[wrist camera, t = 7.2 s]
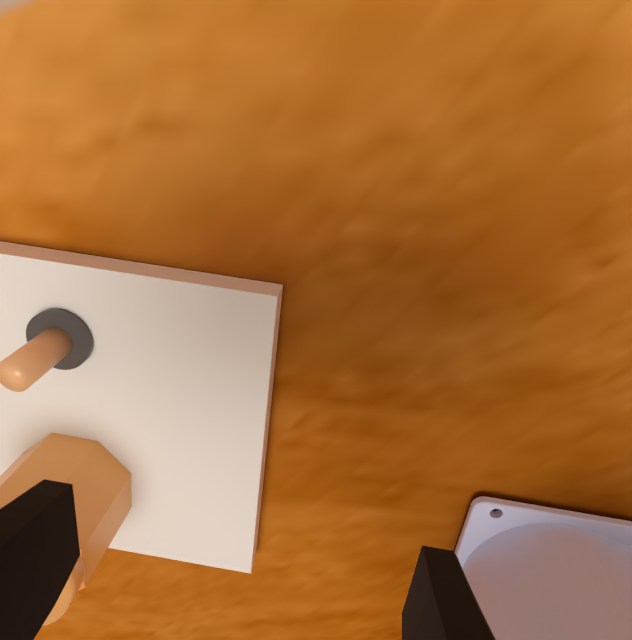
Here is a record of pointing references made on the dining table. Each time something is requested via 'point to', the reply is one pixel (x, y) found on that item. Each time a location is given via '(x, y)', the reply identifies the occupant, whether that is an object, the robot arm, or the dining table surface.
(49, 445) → the acorn nut
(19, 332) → the junction plate
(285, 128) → the dining table surface
